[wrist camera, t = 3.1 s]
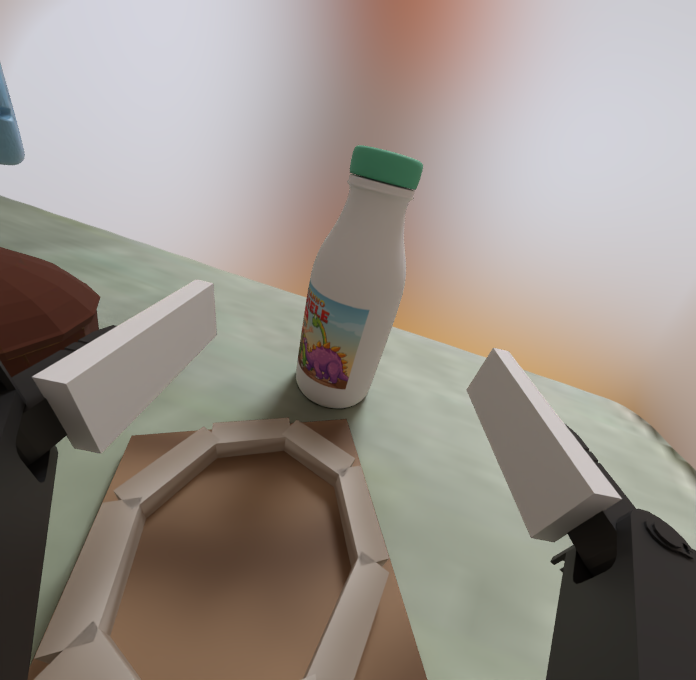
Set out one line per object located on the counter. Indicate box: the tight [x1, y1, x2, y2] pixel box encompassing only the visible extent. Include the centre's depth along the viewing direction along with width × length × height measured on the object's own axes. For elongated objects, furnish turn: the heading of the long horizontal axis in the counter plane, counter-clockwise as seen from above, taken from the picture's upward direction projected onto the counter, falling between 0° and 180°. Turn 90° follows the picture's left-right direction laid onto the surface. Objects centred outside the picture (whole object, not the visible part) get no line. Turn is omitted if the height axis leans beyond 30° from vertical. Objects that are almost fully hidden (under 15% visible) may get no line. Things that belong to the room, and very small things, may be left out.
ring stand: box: [28, 418, 427, 680], centre depth 14 cm, size 15×15×3 cm
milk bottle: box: [296, 146, 423, 408], centre depth 22 cm, size 8×8×20 cm
